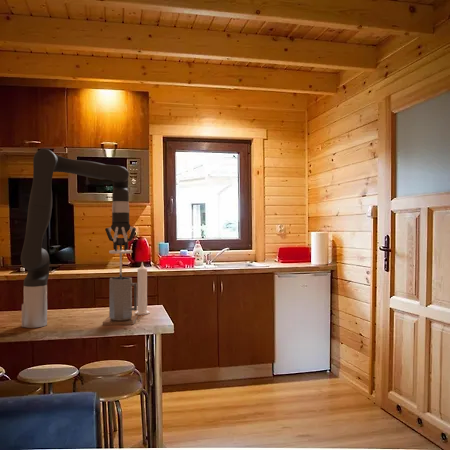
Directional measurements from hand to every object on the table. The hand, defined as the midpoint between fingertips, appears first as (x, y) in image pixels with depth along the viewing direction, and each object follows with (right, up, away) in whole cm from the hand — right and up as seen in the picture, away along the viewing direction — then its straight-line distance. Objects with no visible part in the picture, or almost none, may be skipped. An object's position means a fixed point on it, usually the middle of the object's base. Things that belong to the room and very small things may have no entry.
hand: (120, 250), depth 194 cm
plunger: (0, -18, 0) cm, 18 cm away
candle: (+6, -32, +18) cm, 37 cm away
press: (0, -32, 0) cm, 32 cm away
